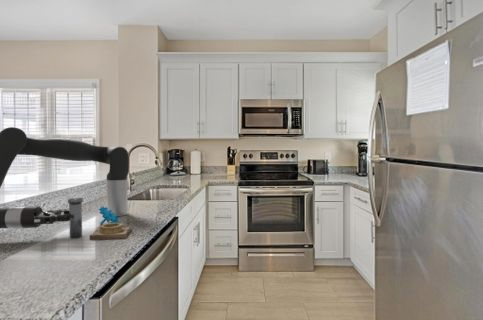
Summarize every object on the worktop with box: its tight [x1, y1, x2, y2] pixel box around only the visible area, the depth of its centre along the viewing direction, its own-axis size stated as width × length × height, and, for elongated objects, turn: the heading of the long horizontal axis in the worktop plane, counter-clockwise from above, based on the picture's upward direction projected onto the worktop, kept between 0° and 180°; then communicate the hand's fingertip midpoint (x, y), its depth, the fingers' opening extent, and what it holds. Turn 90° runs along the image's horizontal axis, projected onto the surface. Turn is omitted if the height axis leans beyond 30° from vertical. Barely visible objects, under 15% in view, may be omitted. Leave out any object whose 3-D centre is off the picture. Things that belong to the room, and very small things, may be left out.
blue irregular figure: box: [98, 206, 120, 225], centre depth 134 cm, size 11×6×10 cm
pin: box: [67, 197, 84, 240], centre depth 113 cm, size 5×5×14 cm
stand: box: [89, 222, 132, 241], centre depth 117 cm, size 12×12×4 cm
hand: (74, 215), depth 113 cm, fingers open, 8 cm apart
